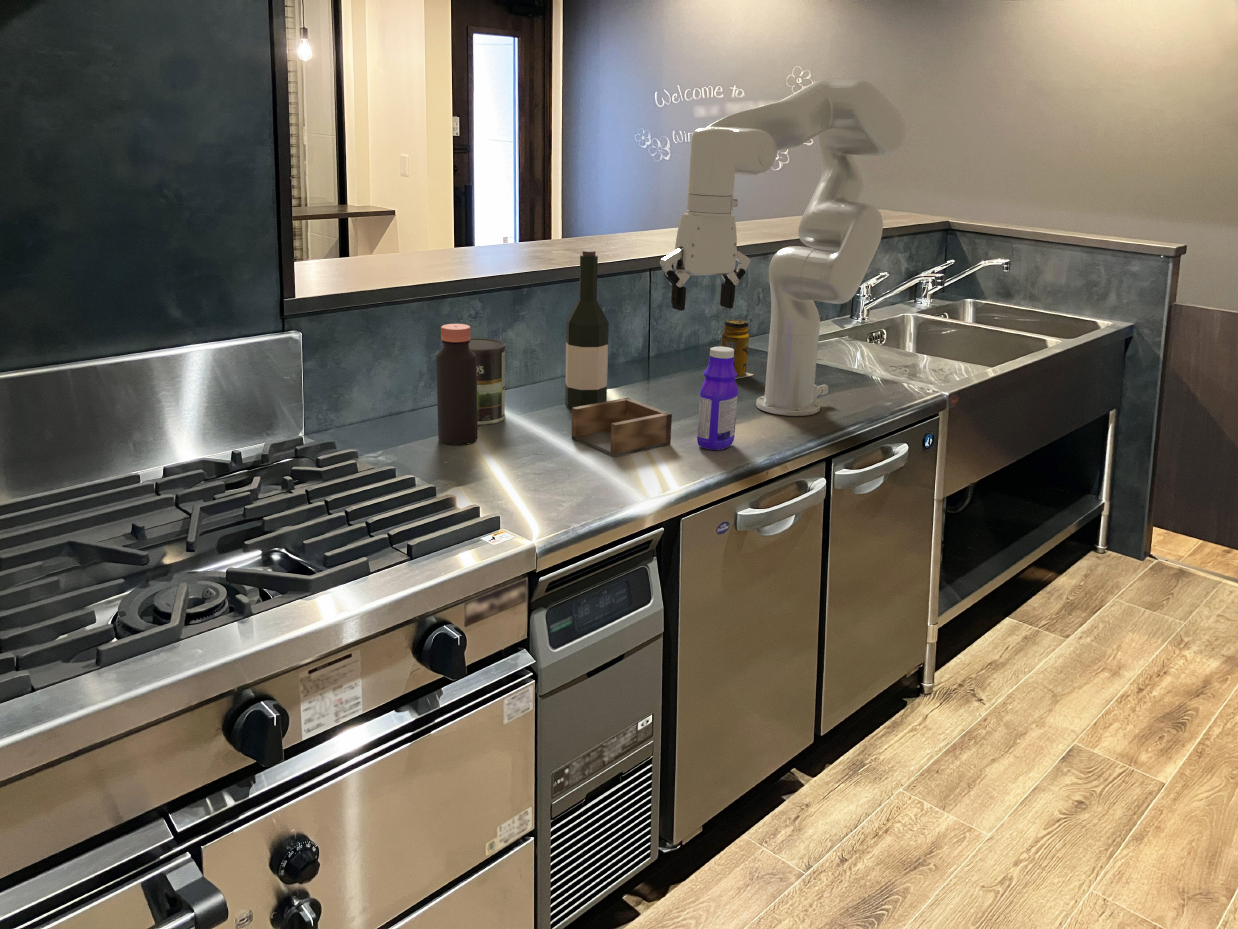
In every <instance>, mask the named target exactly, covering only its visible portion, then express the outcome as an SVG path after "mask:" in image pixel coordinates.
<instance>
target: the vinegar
mask: <svg viewBox="0 0 1238 929" xmlns="http://www.w3.org/2000/svg"><path fill="white" fill-rule="evenodd" d="M471 330H472V329H471V326H470V325H469V324H465V323H448V324H443V325H442V326H440V337H441V343H442V344H443V345H442V346H443V348H441V350H440V351H439V352H438V353H437V354H436V357H435V363H436V364H435V365H436V366H435V367H436V368H435V369H436V370H435V371H436V398H437V399H436V400H437V404H436V405H437V406H436V407H437V436H438V440H439V442H441V443H442V444H445V445H450V446H465V445H470V444H473V443H476V442H477V440H478V436H479V435H478V430H479V429H478V428H479V427H478V426H479V425H478V424H477V357H476V355H475V353H474V352H473V351H472V350H471V349H470V348H469V343H470V339H471V338H472V335H471V334H472V333H471Z"/></svg>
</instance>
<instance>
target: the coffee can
mask: <svg viewBox="0 0 1238 929" xmlns="http://www.w3.org/2000/svg"><path fill="white" fill-rule="evenodd" d="M469 348H470V349H471V350H472V351H473V352H474V353H475V355H476V357H477V424H478V426H485V425H493V424H497V423H498V424H499V423H500V422H502V421H504V420H505V418H506V413H505V410H506V408H505V406H506V403H505V402H506V400H505V398H506V388H505V385H506V384H505V382H506V359H505V358H506V352H505V351H506V343H505V342H504V341H502V340H498V339H495V338H489V337H488V338H486V337H471V339H470V343H469Z"/></svg>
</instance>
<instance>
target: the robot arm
mask: <svg viewBox="0 0 1238 929" xmlns="http://www.w3.org/2000/svg"><path fill="white" fill-rule="evenodd" d="M906 136H907V127H906V122H905V119H904V116H903V115H902V113H901V111H900V110H899V109H898V108H897V107H896V106H895V104H893V102H892V101H891V100H890V99H889V98H888V97H887V96H886V94H884V93H883V92H882V91H881V90H880V89H879V88H878V87H877V86H876V85H874V84H873V83H871V82H869V81H868V80H865V79H841V78H840V79H837V78H836V79H834V78H831V79H830V78H829V79H828V78H826V79H820V80H816V81H814V82H811V83H810V84H808V85H806V86H805V87H802V88H801V89H799V90H798V91H795V92H794V93H792V94H790V95H789V96H786V97H785V98H783V99H780V100H779V101H775V102H771V103H767V104H764V105H760V106H757V107H754V108H753V107H752V108H749V109H746V110H743V111H739V112H735V113H731V114H730V115H729V114H728V115H726V116H724V117H723V118H722V117H721V119H720V118H719V119H718V120H716V121H714V122H712V123H711V124H709V125H707V126H706V127H699V128H697V129H695V130H694V131H693V133H692V135H691V142H690V156H689V157H690V158H689V170H688V171H689V173H688V174H689V175H688V192H687V203H686V204H687V205H686V212H684V213H682V214H681V217H680V221H679V224H678V228H677V231H676V232H677V234H676V237H675V247H674V251H672V252H670V253H669V254H667V255H666V256H664V257H662V258H661V259H660V260H659V265H660V267H661V270H662V271H663V275H664V277H665V278H666V279H667V281H668V282H669V285H671V300H670V301H671V307H672V308H673V309H674V310H676V311H679V312H680V311H681V312H684V311H685V309H686V300H687V299H686V298H687V295H686V294H687V287H686V286H684V285H685V283H687V281H688V279H690V277H691V276H721V278H722V279H723V281H724V282H722V283H721V285H720V287H721V288H720V296H719V298H720V301H719V305H720V306H721V307H723V308H726V309H729V310H730V309H733V308H734V302H735V297H736V286H738V285H739V283H740V280H741V279H742V278H743V277H744V276H745V275H746V270H747V269H748V268H749V265H750V263H751V258H750V257H748V256H746V255H745V254H743V253H742V252H741V251H739V250H737V246H738V245H737V242H738V240H737V239H738V238H737V225H736V218H735V217H736V216H735V215H734V214H733V210H734V208H737V207H738V205H739V200H738V199H737V198H736V199H735V198H734V197H735V196H734V194H735V192H734V191H735V179H736V175H742V176H743V175H744V176H757V175H762V174H764V173H766V172H767V171H769V170H770V169H771V167H773V165H774V164H775V162H776V159H777V155H778V151H783V150H790V149H795V148H798V147H800V146H801V145H803V144H805V143H807V142H808V141H810V140H811V139H814V138H815V137H817V138H818V145H819V150H820V151H819V152H820V157H821V158H820V159H821V176H820V179H819V182H818V184H817V185H816V188H815V190H814V192H813V194H812V197H811V198H810V200H809V202H808V204H807V206H806V208H805V210H804V213H803V215H802V217H801V219H800V221H799V226H798V228H797V229H798V230H797V231H798V233H797V234H798V238H799V239H800V240H799V241H801V243H803V244H804V246H802V245H801V246H800V245H799V246H798V245H797V246H795V245H794V246H787V247H783V248H781V249H779V250H778V251H777V252H775V253H774V255H773V256H772V258H771V261H770V263H769V268H768V279H769V288H770V298H771V300H770V302H771V304H770V305H771V306H770V307H771V310H770V324H769V334H768V335H769V336H768V348H767V361H766V362H767V363H766V373H765V374H766V375H765V389H764V395H762V396H759V397H757V398H756V400H755V401H756V402H755V406H756V407H757V408H758V410H761V411H763V412H766V413H769V414H772V415H778V416H788V417H803V416H810V415H811V416H812V415H815V414H817V413H818V412H820V410H821V404H820V402H819V401H817V397H818V396H820V395H826V394H828V393H829V386H828V384H825V383H824V384H821V385H817V384H815V381H816V371H817V361H818V349H819V348H818V347H819V340H820V339H819V338H820V330H821V328H820V327H821V318H820V314H819V311H818V308H817V306H816V303H815V301H816V302H821V303H828V304H835V305H840V304H846V303H848V302H849V301H851V300H852V298H853V297H854V296H855V295H856V294H857V292H858V290H859V288H860V287H861V283H862V282H863V280H864V278H865V275H866V274H867V271H868V269H869V267H870V265H871V263H872V261H873V259H874V257H875V255H876V252H877V251H878V248H879V246H880V243H881V240H882V236H883V228H884V223H883V217H882V213H881V211H880V210H879V209H878V208H877V207H876V206H874V205H873V204H870V203H866V202H860V198H861V196H862V195H863V191H864V179H863V176H862V174H861V171H860V169H859V167H858V165H857V163H856V160H855V157H854V156H866V157H881V158H882V157H885V158H886V157H890V156H893V155H895V154H896V153H897V152H898V151H900V150H901V149H902V146H903V145H904V143H905V139H906ZM737 262H738V264H737V267H736V263H737ZM672 265H673V267H672ZM673 269H674V270H675V271H674V270H673ZM672 308H671V309H672Z"/></svg>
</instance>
